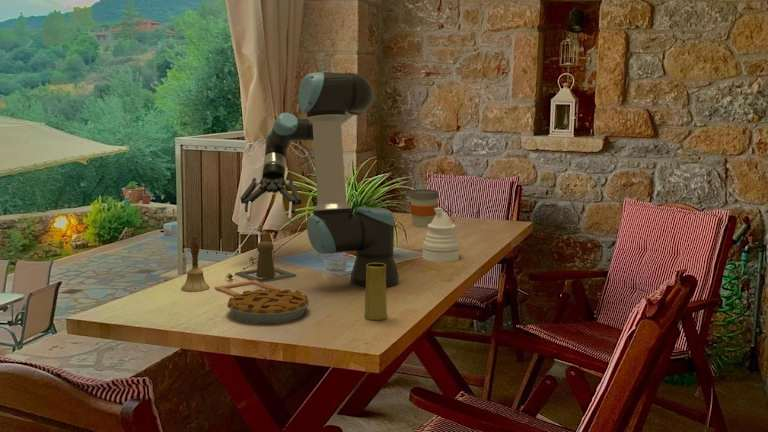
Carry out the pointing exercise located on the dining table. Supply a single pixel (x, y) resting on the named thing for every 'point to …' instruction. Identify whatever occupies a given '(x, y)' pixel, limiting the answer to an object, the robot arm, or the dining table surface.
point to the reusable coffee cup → (423, 206)
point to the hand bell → (195, 271)
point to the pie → (268, 305)
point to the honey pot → (441, 239)
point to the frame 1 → (226, 287)
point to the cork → (265, 260)
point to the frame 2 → (245, 275)
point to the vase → (375, 292)
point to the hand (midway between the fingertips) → (269, 219)
